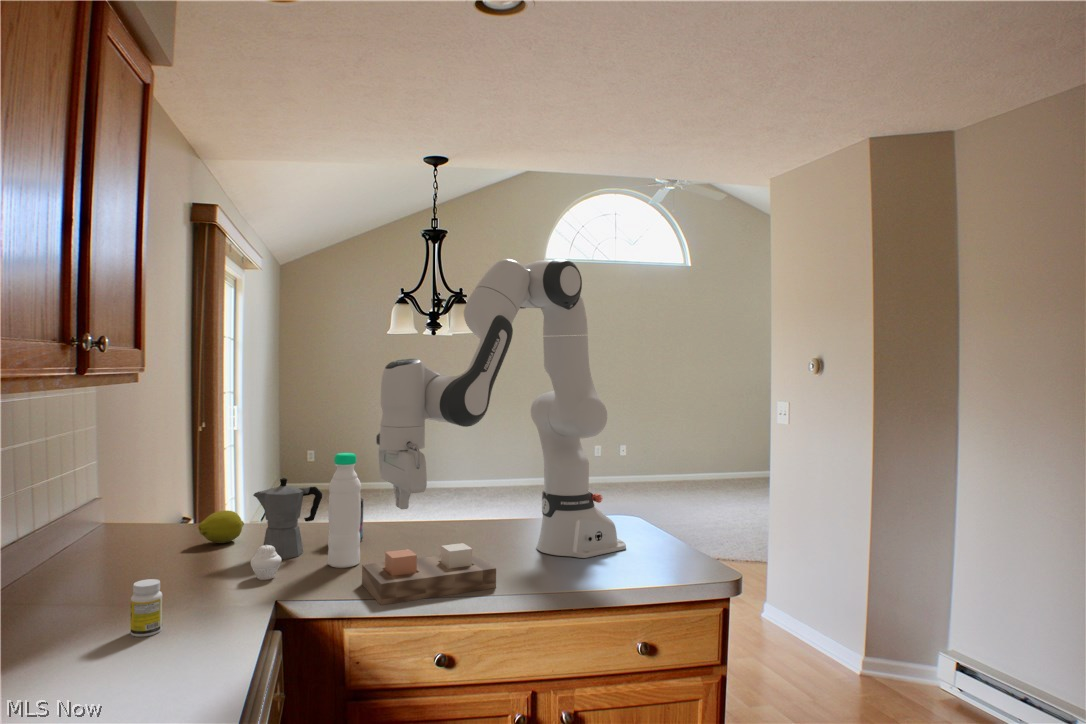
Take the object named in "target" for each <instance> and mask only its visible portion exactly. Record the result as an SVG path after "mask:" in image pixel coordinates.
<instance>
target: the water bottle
mask: <svg viewBox="0 0 1086 724" xmlns="http://www.w3.org/2000/svg"><path fill="white" fill-rule="evenodd" d="M356 463H357V455H356V453H352V452H339V453H336V454H335V455H334V466H335V467H336V470H335V471H334V473H333V475H332V478H331V480H330V482H329V484H328V491H329V497H328V532H329V533H328V537H327V545H328V551H327V563H328V565H329V566H330V567H333V568H337V569H345V568H346V569H347V568H352V567H354V566H357V565H358V564H359V563H360V561H361V548H360V544H361V541H360V532H359V530H360V517H361V499H360V498H361V489H362V483H361V481H360V479H359V478H358V473H357V472H356V471H355V466H356Z"/></svg>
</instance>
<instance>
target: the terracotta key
mask: <svg viewBox="0 0 1086 724" xmlns="http://www.w3.org/2000/svg"><path fill="white" fill-rule="evenodd" d="M384 553H385V554H384V562H385V572H387V573H388V574H389V575H390V576H396V575H403V574H411V573H417V558H418V555H417V554H416V553H415V552H414V551H412V550H411V549H410V548H406V549H401V550H400V549H399V550H391V551H384Z"/></svg>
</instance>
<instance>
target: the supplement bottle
mask: <svg viewBox="0 0 1086 724" xmlns="http://www.w3.org/2000/svg"><path fill="white" fill-rule="evenodd" d="M160 590H161V581H160V579H157V578H156V579H155V578H152V579H151V578H150V579H141V580H138V581H135V582H134V583H133V586H132V593H133V594H132V596H130V634H131V636H133V637H137V638H139V637H140V638H141V637H143V638H144V637H150V636H154V635H157V634H159V633H160V632H161V631H162V629H163V592H162V591H160Z"/></svg>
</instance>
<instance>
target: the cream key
mask: <svg viewBox="0 0 1086 724" xmlns="http://www.w3.org/2000/svg"><path fill="white" fill-rule="evenodd" d="M472 553H473V548H472V547H470V546H469V545H467V544H465V543H463V542H462V543H452V544H445V545H443V544H442V545H441V546H440V555H441V564H442V565H444V566H445V567H446V568H448V569H449V568H456V567H464V566H471V565H472Z"/></svg>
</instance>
